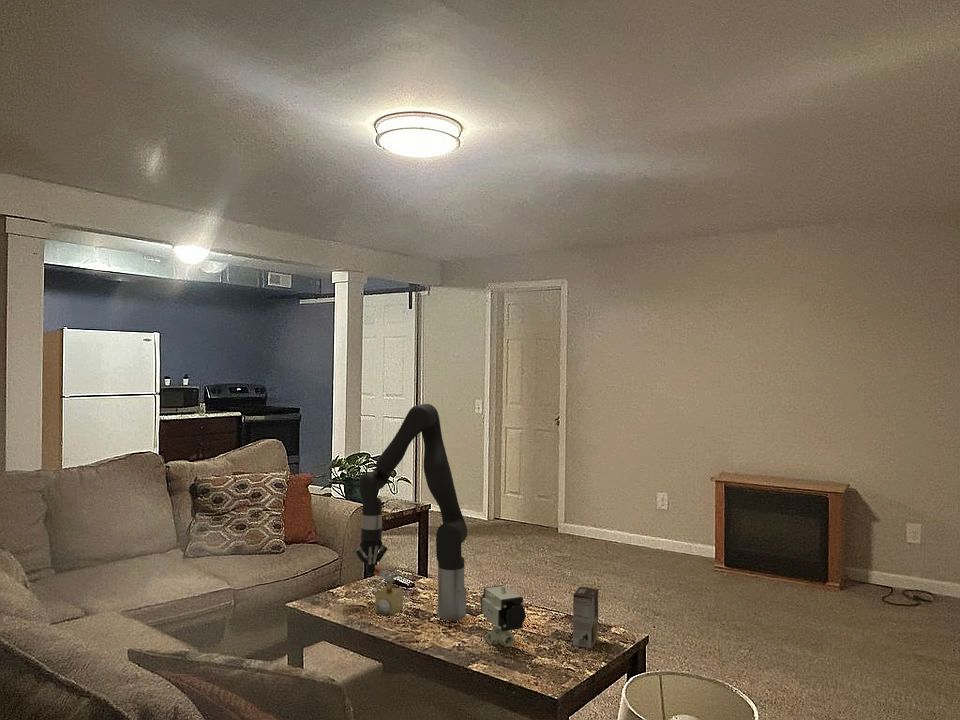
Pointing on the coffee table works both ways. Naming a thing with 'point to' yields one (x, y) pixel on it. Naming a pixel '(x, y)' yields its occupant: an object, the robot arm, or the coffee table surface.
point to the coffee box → (585, 617)
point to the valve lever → (384, 574)
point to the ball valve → (502, 613)
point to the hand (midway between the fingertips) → (370, 573)
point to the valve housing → (389, 600)
